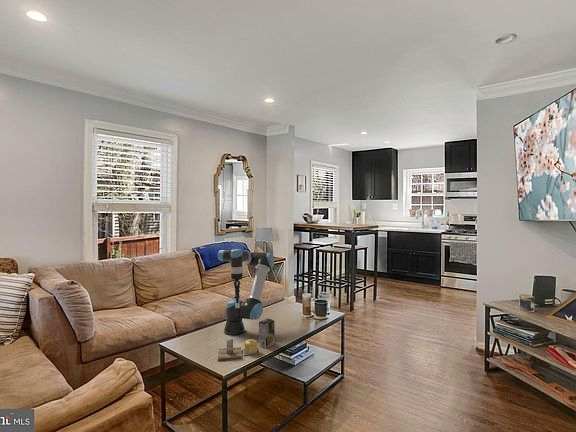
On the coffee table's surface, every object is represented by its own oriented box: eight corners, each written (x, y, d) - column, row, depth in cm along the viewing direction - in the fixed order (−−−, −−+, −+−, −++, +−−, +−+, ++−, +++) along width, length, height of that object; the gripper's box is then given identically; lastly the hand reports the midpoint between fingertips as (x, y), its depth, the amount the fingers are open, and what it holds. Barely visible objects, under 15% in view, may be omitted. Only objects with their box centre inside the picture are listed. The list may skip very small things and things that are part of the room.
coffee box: (268, 341, 229) (267, 318, 228) (275, 344, 225) (274, 320, 224) (258, 346, 222) (258, 321, 221) (265, 348, 217) (265, 323, 217)
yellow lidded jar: (256, 348, 217) (256, 337, 217) (257, 353, 209) (257, 342, 209) (244, 349, 216) (244, 338, 215) (245, 354, 208) (244, 343, 208)
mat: (243, 349, 217) (243, 348, 217) (257, 348, 218) (257, 347, 218) (244, 356, 207) (244, 355, 207) (258, 354, 208) (258, 353, 208)
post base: (218, 351, 214) (218, 336, 214) (241, 349, 216) (240, 334, 216) (217, 361, 200) (217, 345, 200) (241, 359, 203) (241, 343, 202)
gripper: (231, 269, 234) (231, 300, 235) (231, 276, 210) (231, 310, 210) (242, 269, 236) (242, 299, 236) (243, 276, 211) (243, 310, 212)
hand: (237, 304), depth 223 cm, fingers open, 13 cm apart
